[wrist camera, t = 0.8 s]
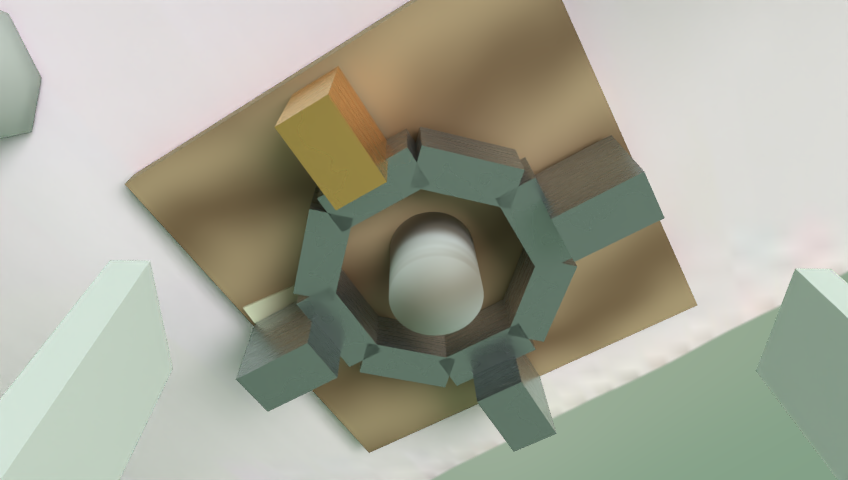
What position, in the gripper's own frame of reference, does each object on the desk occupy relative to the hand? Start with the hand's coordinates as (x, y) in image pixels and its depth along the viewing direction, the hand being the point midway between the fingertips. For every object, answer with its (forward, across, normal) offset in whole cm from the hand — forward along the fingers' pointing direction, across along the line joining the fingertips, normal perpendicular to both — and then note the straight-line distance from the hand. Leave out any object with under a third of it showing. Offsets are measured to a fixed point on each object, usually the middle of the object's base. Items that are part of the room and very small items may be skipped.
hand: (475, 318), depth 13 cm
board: (+19, 0, -8) cm, 21 cm away
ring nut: (+17, 0, -8) cm, 19 cm away
